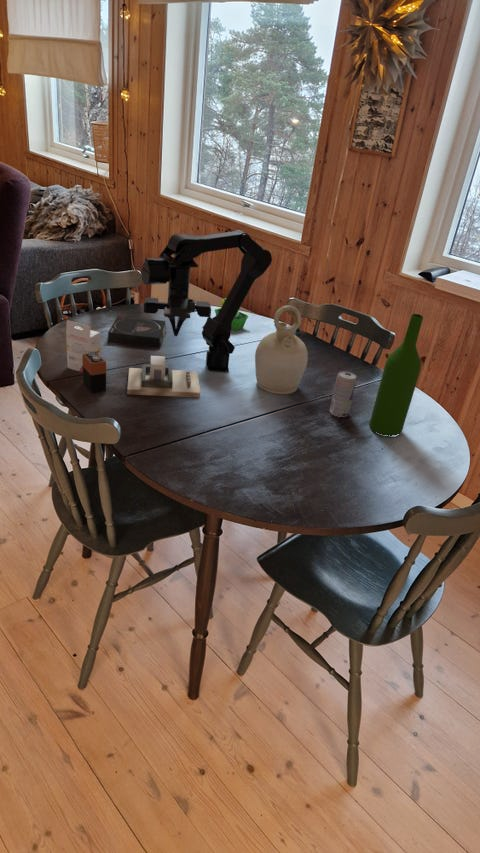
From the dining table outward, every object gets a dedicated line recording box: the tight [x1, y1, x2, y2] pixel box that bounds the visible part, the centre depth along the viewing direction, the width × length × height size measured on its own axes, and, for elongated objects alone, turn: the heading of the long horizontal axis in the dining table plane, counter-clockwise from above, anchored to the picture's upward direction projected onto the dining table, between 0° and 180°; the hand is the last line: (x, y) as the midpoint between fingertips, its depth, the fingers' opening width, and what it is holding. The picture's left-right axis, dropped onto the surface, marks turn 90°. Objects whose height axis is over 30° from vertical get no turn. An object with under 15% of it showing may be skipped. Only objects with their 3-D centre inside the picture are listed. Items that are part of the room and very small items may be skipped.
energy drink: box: [329, 370, 358, 418], centre depth 156 cm, size 5×5×12 cm
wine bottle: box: [368, 313, 424, 436], centre depth 146 cm, size 9×9×32 cm
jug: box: [254, 304, 309, 395], centre depth 164 cm, size 15×16×25 cm
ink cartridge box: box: [65, 319, 101, 373], centre depth 161 cm, size 9×5×15 cm, turn 68°
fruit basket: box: [214, 297, 249, 331], centre depth 208 cm, size 11×9×11 cm
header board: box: [126, 364, 201, 398], centre depth 161 cm, size 20×14×4 cm
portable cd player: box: [107, 315, 167, 349], centre depth 191 cm, size 16×17×4 cm
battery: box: [82, 351, 107, 395], centre depth 153 cm, size 4×7×10 cm, turn 34°
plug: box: [150, 355, 166, 380], centre depth 159 cm, size 4×7×6 cm, turn 7°
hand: (175, 335), depth 163 cm, fingers closed
